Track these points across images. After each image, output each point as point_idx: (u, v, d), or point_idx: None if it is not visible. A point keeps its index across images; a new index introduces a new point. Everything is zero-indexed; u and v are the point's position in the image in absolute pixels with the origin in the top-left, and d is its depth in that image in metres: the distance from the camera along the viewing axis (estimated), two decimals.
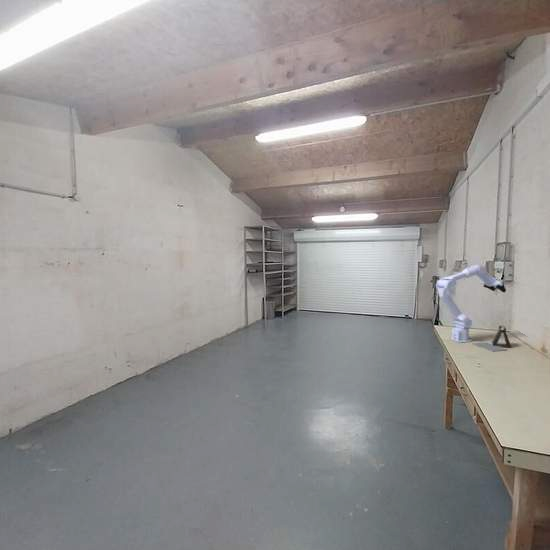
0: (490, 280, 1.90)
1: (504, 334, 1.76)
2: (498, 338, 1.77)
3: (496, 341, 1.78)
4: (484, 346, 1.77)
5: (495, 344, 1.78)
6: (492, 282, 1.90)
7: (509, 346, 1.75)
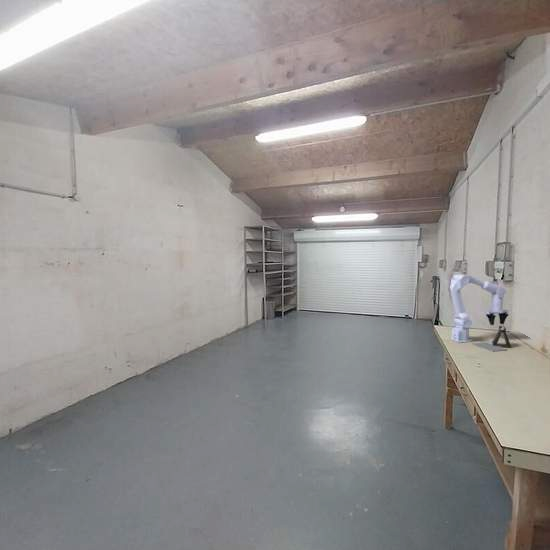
0: (492, 305, 1.90)
1: (504, 334, 1.76)
2: (498, 338, 1.77)
3: (496, 341, 1.78)
4: (484, 346, 1.77)
5: (495, 344, 1.78)
6: (492, 309, 1.91)
7: (509, 346, 1.75)
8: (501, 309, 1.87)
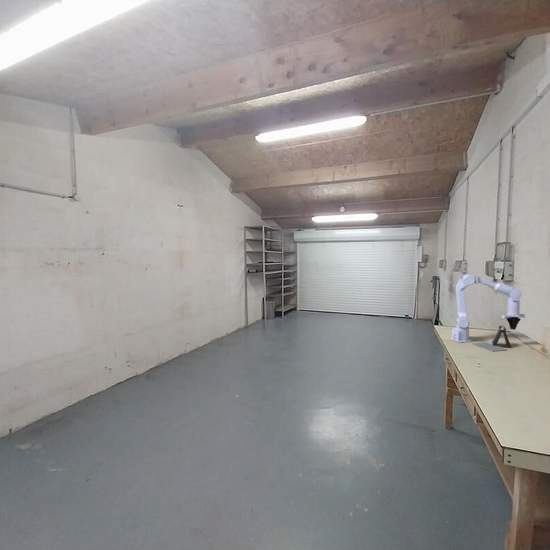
0: (508, 309, 1.80)
1: (504, 334, 1.76)
2: (498, 338, 1.77)
3: (496, 341, 1.78)
4: (484, 346, 1.77)
5: (495, 344, 1.78)
6: (508, 312, 1.80)
7: (509, 346, 1.75)
8: (518, 313, 1.77)
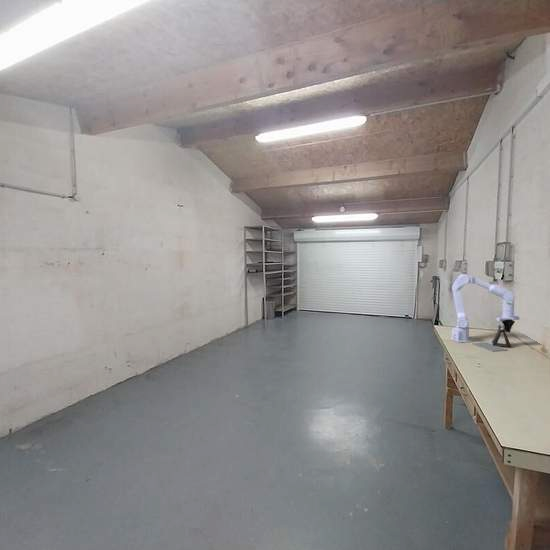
0: (503, 312, 1.79)
1: (504, 334, 1.76)
2: (498, 338, 1.77)
3: (496, 341, 1.78)
4: (484, 346, 1.77)
5: (495, 344, 1.78)
6: (502, 315, 1.79)
7: (509, 346, 1.75)
8: (512, 315, 1.76)
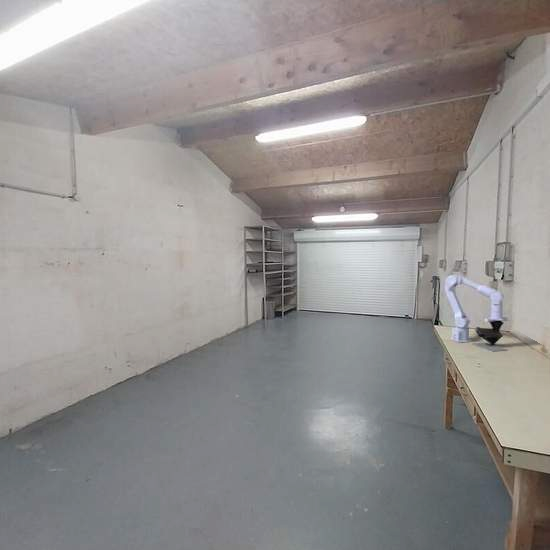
0: (491, 313, 1.78)
1: (486, 336, 1.76)
2: (488, 340, 1.78)
3: (490, 342, 1.78)
4: (484, 346, 1.77)
5: (493, 343, 1.78)
6: (491, 316, 1.78)
7: (500, 336, 1.74)
8: (501, 316, 1.75)
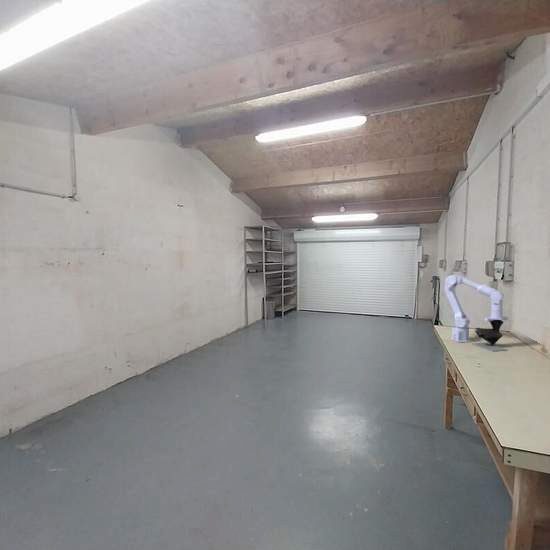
0: (491, 312, 1.78)
1: (486, 336, 1.76)
2: (488, 340, 1.78)
3: (490, 342, 1.78)
4: (484, 346, 1.77)
5: (493, 343, 1.78)
6: (491, 315, 1.78)
7: (500, 336, 1.75)
8: (501, 316, 1.75)
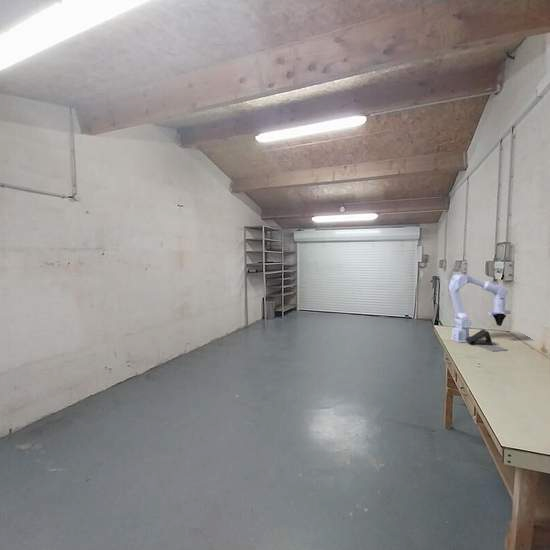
0: (494, 306, 1.88)
1: (477, 340, 1.81)
2: (483, 343, 1.80)
3: (487, 343, 1.80)
4: (484, 346, 1.77)
5: (491, 343, 1.79)
6: (494, 309, 1.88)
7: (487, 333, 1.79)
8: (503, 310, 1.85)
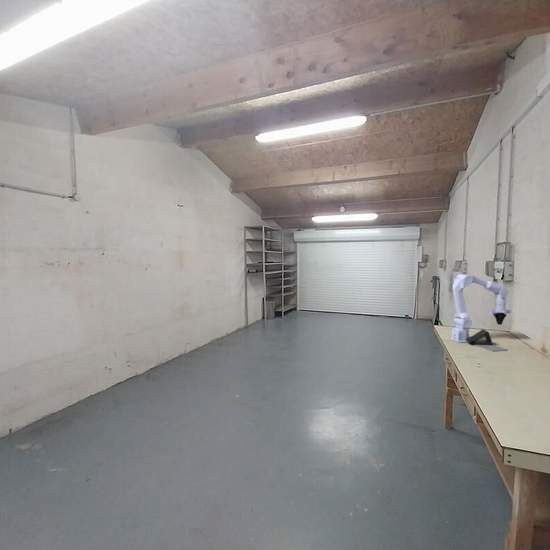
0: (495, 305, 1.91)
1: (477, 340, 1.81)
2: (483, 343, 1.80)
3: (487, 343, 1.80)
4: (484, 346, 1.77)
5: (491, 343, 1.79)
6: (495, 308, 1.91)
7: (487, 333, 1.79)
8: (504, 309, 1.88)
